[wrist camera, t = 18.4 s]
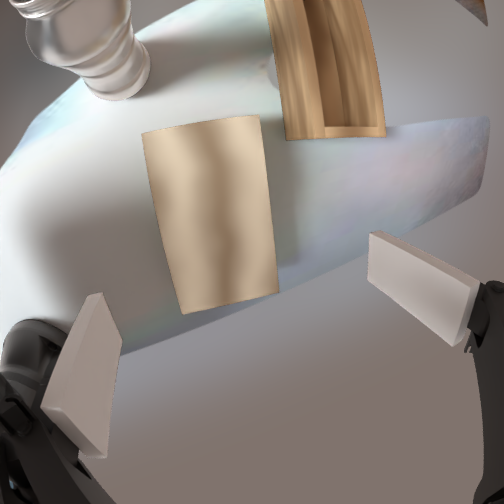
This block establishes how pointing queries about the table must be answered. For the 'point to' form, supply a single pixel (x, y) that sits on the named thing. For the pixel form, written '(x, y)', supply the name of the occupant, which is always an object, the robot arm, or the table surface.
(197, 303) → the lid
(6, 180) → the table surface
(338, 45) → the toolbox
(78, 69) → the plastic bottle
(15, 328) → the robot arm
